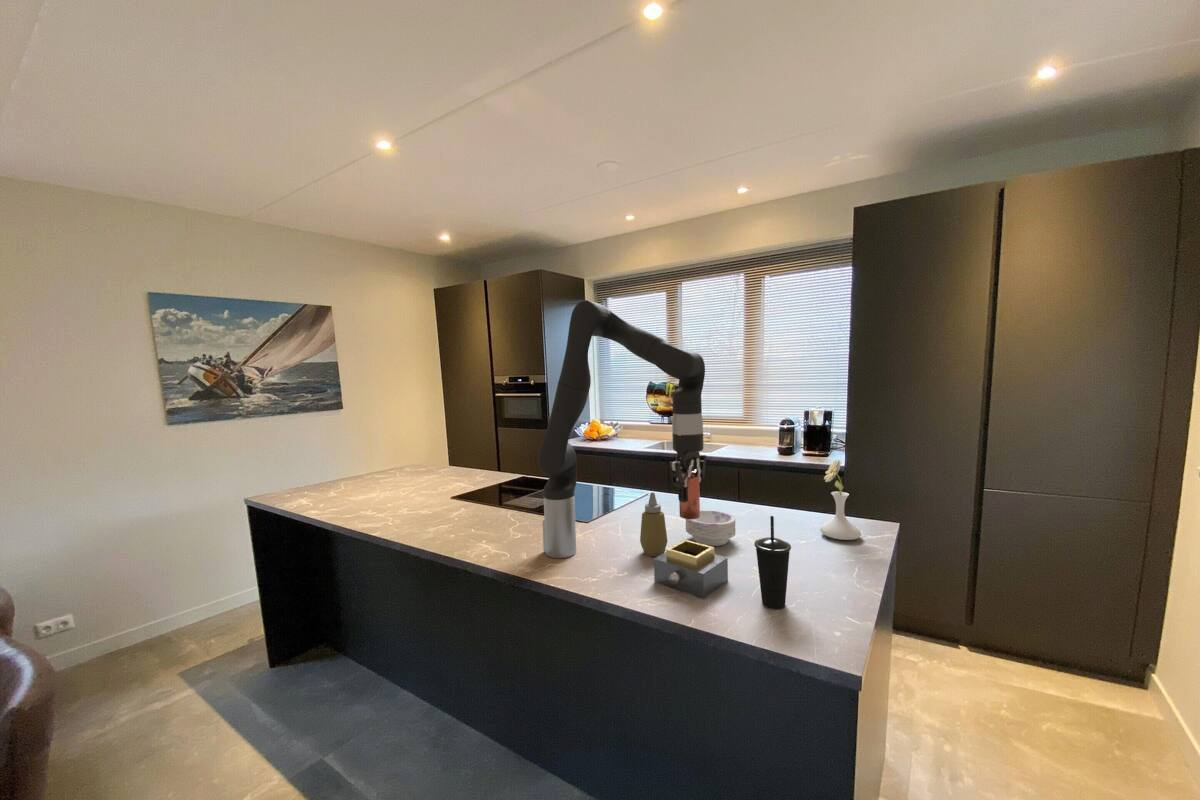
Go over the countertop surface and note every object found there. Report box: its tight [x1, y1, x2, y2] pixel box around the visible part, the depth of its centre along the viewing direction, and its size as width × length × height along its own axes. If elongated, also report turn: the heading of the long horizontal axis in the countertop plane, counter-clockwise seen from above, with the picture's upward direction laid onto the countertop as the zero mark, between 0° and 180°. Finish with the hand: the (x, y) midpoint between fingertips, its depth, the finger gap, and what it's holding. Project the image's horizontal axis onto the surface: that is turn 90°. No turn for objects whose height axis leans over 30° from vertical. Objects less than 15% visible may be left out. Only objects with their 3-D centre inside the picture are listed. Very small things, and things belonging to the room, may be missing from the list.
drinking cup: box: [753, 515, 792, 610], centre depth 99 cm, size 8×8×20 cm
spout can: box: [678, 472, 701, 520], centre depth 111 cm, size 5×5×13 cm
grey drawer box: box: [653, 539, 729, 600], centre depth 111 cm, size 14×14×8 cm
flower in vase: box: [819, 459, 862, 541], centre depth 138 cm, size 13×11×25 cm
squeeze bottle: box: [639, 492, 668, 557], centre depth 130 cm, size 8×8×18 cm
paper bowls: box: [685, 509, 736, 547], centre depth 139 cm, size 15×15×8 cm
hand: (689, 498), depth 111 cm, fingers closed on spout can, 5 cm apart
